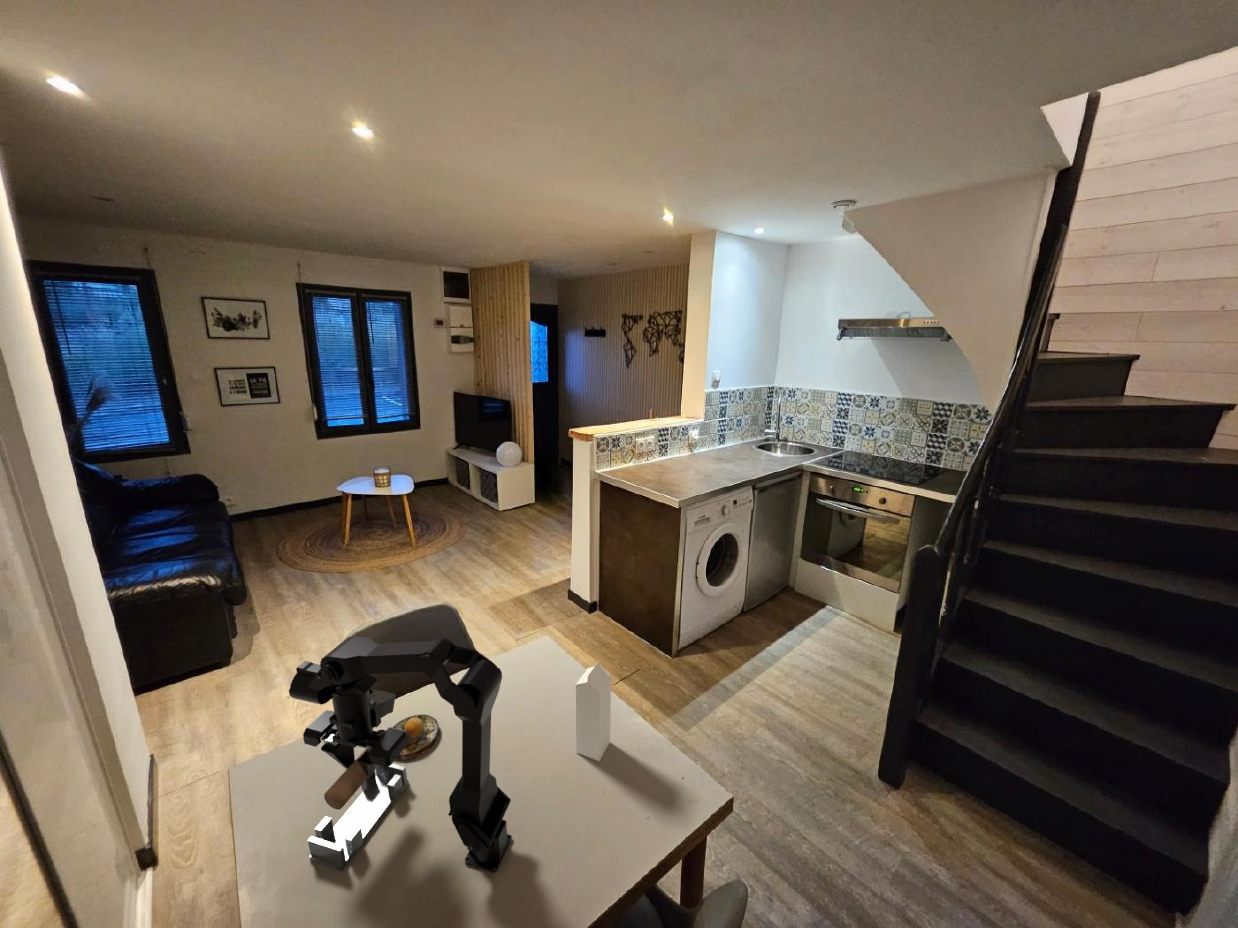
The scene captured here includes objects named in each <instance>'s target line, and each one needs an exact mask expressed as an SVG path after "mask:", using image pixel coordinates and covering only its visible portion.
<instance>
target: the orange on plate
mask: <svg viewBox="0 0 1238 928" xmlns="http://www.w3.org/2000/svg"><path fill="white" fill-rule="evenodd" d="M392 728H396V729H400V730H404V731H408V734H409V744H408V745H407V746H406V747H405V749H404V750H403V751H402V752H401V753H400V755H399V756H398V757H397V758H396V760H397V761H405V760H406V759H407V760H409V759H411V758H413V759H416V758H418V757H421V756H422V755H423V754H424V753H427V752H429V751H430V750H431V749H433V747H434V746H435V745H436V744H437V741H438V740H439V737H440V733H441V731H440V725H439V722H438V720H437V719H436V718H435V717H433V716H431V715H428V714H414V715H410V716H409V717H406V718H403V719H402V720H400V721H399V722H397V723H395V724H394V725H393V726H392ZM396 760H395V761H396Z"/></svg>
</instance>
